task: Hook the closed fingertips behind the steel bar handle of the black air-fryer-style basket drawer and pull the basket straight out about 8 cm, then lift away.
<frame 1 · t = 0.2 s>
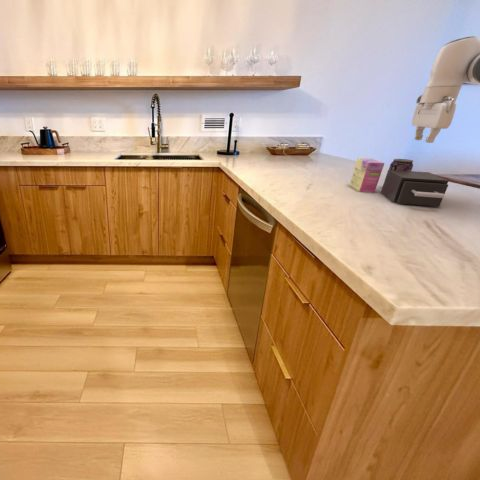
hand: (422, 141, 100), 20 cm above the counter, tool pointing down, fingers open, 8 cm apart
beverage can: (392, 190, 118), on the counter
fryer: (406, 199, 105), on the counter
box: (361, 190, 118), on the counter
basket: (417, 191, 99), point 5 cm above the counter, slide at 1.0 cm
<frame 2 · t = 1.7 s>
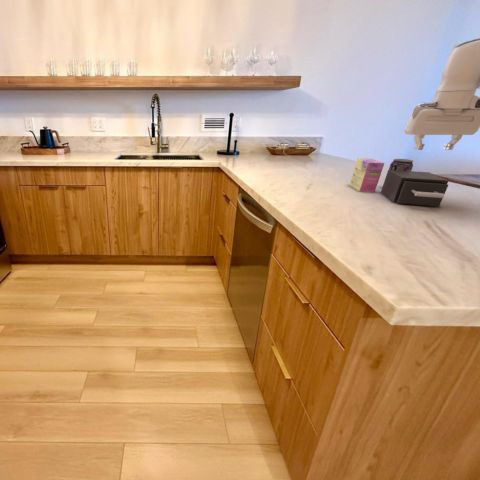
hand: (432, 149, 93), 18 cm above the counter, tool pointing down, fingers open, 8 cm apart
nothing on the counter moved.
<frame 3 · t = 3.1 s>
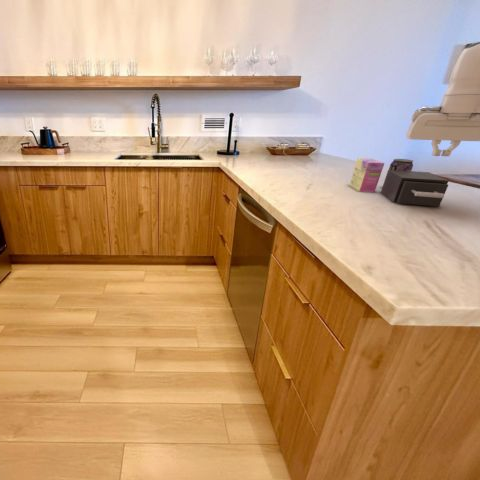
hand: (440, 155, 88), 17 cm above the counter, tool pointing down, fingers closed
nothing on the counter moved.
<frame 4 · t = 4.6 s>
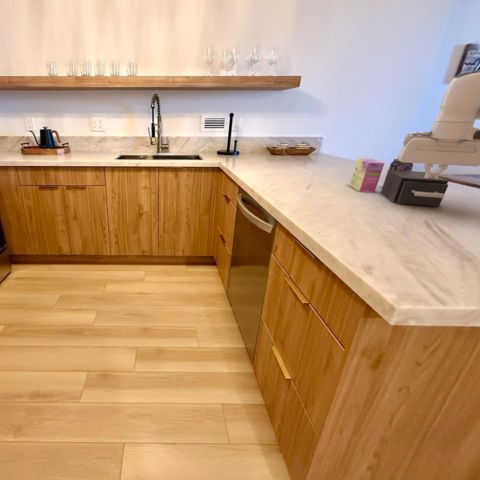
hand: (430, 178, 91), 10 cm above the counter, tool pointing down, fingers closed
nothing on the counter moved.
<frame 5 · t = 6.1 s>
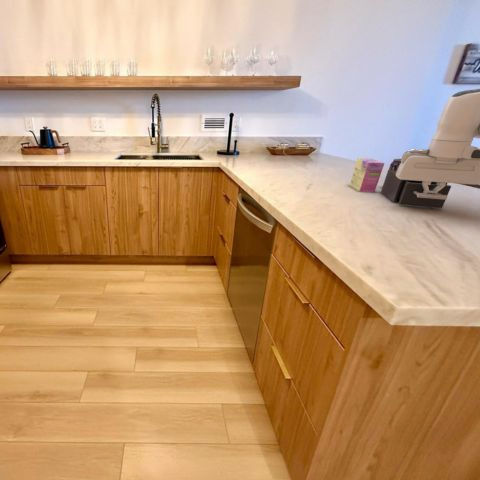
hand: (428, 195, 91), 5 cm above the counter, tool pointing down, fingers closed, pressing on basket
basket: (419, 192, 97), point 5 cm above the counter, slide at 2.9 cm, touching gripper
everything else where it was.
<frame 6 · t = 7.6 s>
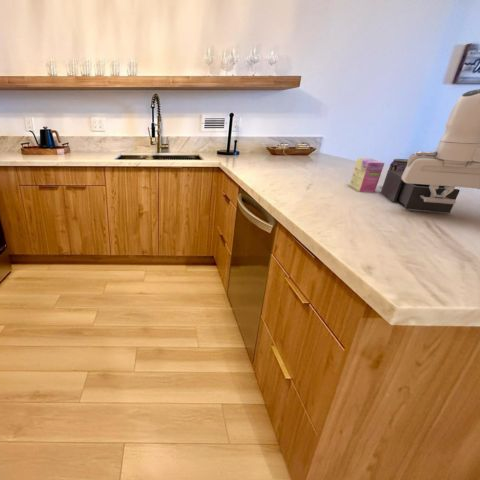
hand: (436, 200, 87), 5 cm above the counter, tool pointing down, fingers closed, pressing on basket
basket: (425, 196, 93), point 5 cm above the counter, slide at 7.9 cm, touching gripper
everything else where it was.
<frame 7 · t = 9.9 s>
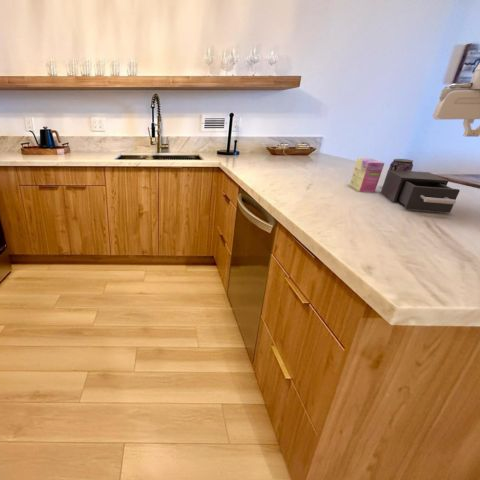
hand: (470, 136, 83), 23 cm above the counter, tool pointing down, fingers closed
basket: (425, 196, 93), point 5 cm above the counter, slide at 7.9 cm
everything else where it was.
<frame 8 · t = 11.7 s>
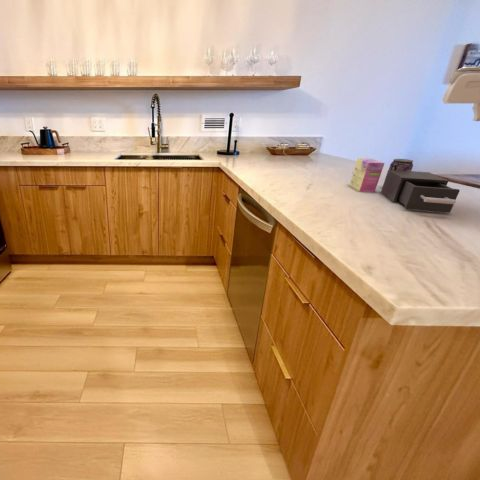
nothing on the counter moved.
at the end: basket slide at 7.9 cm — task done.
